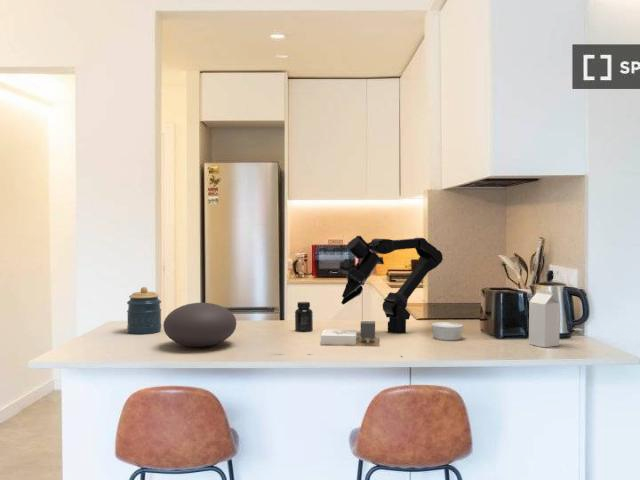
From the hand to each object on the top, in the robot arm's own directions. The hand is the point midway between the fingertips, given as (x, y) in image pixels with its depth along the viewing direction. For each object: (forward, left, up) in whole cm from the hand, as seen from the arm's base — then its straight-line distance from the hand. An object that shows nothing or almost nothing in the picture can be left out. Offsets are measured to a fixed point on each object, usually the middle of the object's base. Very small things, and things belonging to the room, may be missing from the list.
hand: (342, 300), depth 217 cm
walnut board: (-3, +6, -15) cm, 16 cm away
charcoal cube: (-9, +6, -14) cm, 18 cm away
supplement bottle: (+16, -14, -15) cm, 26 cm away
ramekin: (-38, -8, -15) cm, 42 cm away
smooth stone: (+49, +13, -15) cm, 53 cm away
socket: (+1, +6, -14) cm, 15 cm away
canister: (+79, -12, -15) cm, 81 cm away
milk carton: (-70, +2, -15) cm, 72 cm away
